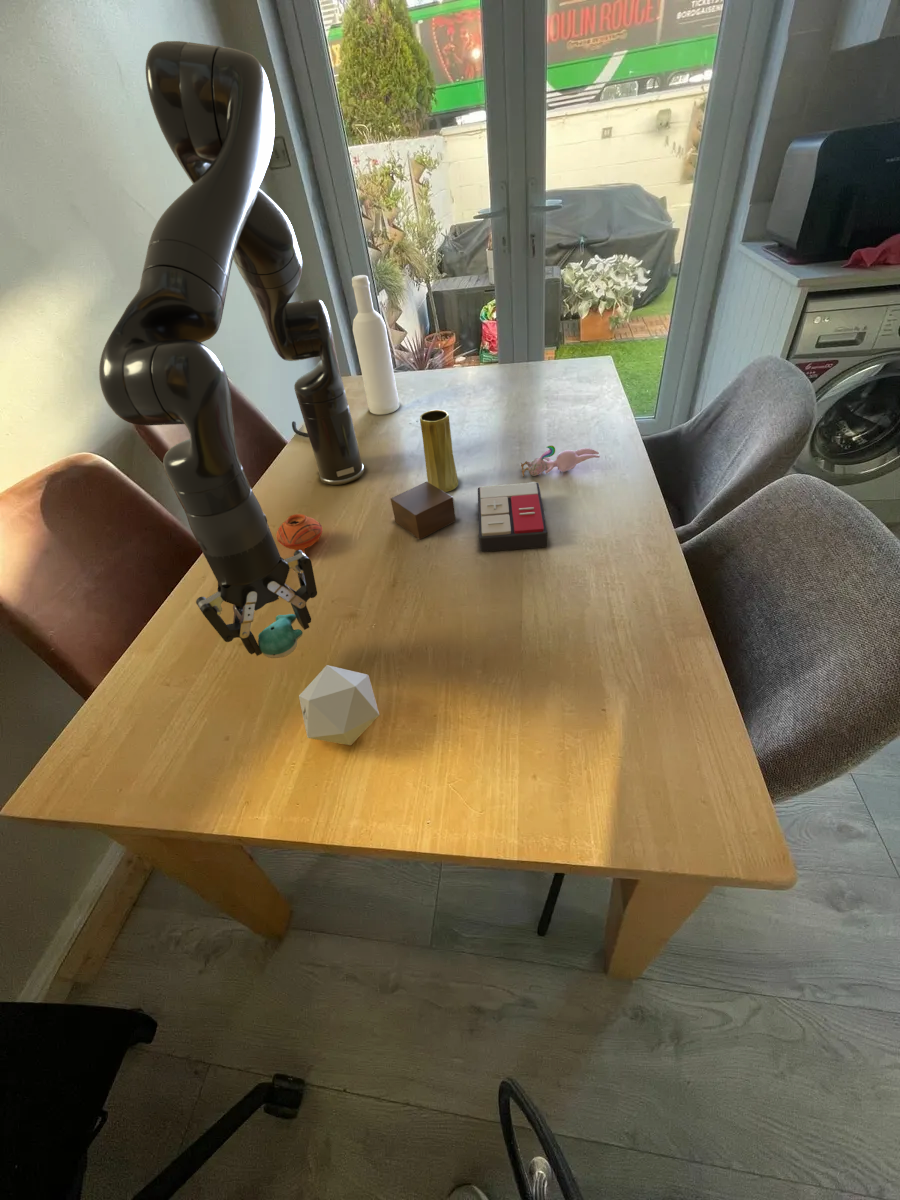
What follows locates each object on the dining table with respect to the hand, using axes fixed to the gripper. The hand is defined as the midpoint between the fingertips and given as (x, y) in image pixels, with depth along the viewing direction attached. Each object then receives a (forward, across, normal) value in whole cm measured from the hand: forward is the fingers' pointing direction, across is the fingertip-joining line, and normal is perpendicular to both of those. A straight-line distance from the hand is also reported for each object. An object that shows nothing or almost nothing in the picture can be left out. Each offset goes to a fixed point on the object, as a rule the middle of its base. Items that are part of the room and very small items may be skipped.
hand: (280, 638), depth 72 cm
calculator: (+7, -44, -5) cm, 45 cm away
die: (+6, -1, +13) cm, 15 cm away
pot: (+7, -14, -26) cm, 30 cm away
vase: (+7, -44, -25) cm, 51 cm away
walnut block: (+6, -34, -17) cm, 38 cm away
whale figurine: (+1, 0, 0) cm, 1 cm away
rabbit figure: (+7, -63, -12) cm, 64 cm away
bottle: (+7, -57, -68) cm, 89 cm away
